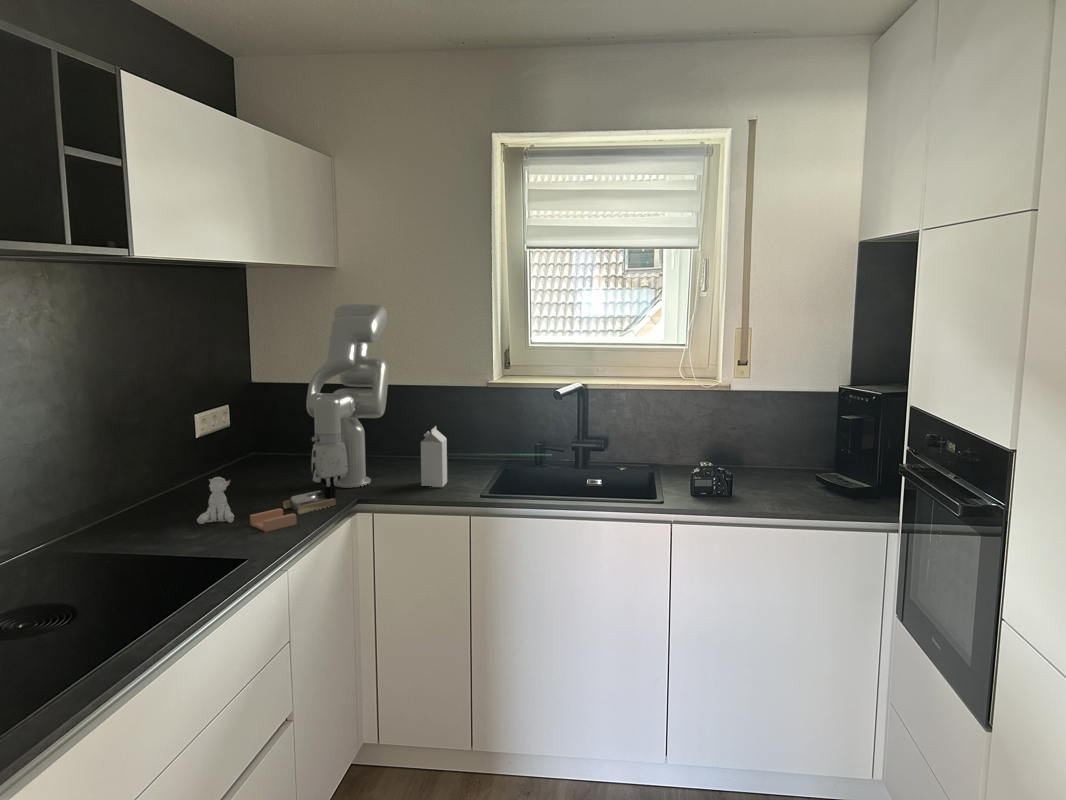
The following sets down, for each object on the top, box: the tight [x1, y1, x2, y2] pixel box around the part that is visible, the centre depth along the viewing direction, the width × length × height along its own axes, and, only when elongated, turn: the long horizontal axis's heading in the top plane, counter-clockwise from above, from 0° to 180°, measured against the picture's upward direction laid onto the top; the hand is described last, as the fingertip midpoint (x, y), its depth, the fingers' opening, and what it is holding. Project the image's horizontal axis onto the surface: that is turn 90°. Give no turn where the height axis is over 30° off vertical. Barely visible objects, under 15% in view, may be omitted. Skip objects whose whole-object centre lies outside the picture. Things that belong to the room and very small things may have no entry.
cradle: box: [249, 507, 298, 533], centre depth 210 cm, size 9×9×3 cm
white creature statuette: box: [196, 476, 235, 525], centre depth 214 cm, size 10×9×12 cm
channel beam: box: [282, 498, 337, 515], centre depth 227 cm, size 9×12×2 cm
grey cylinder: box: [289, 490, 325, 511], centre depth 228 cm, size 9×4×4 cm
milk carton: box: [420, 425, 448, 488], centre depth 252 cm, size 7×7×19 cm
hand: (330, 498), depth 232 cm, fingers closed
